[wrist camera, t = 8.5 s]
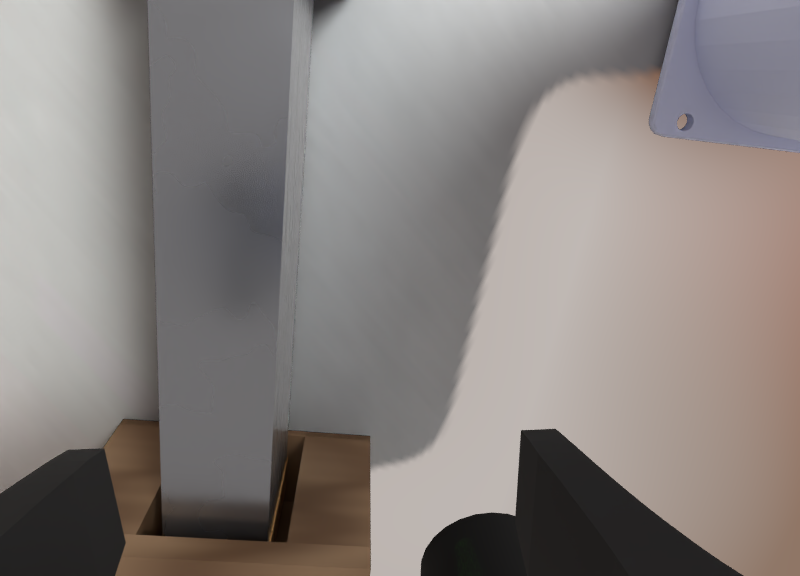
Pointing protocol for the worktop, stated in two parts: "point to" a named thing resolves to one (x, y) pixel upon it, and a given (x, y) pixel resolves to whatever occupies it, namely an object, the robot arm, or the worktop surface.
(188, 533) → the bar
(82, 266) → the worktop surface
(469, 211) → the worktop surface
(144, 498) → the socket
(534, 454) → the robot arm
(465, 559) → the cup
